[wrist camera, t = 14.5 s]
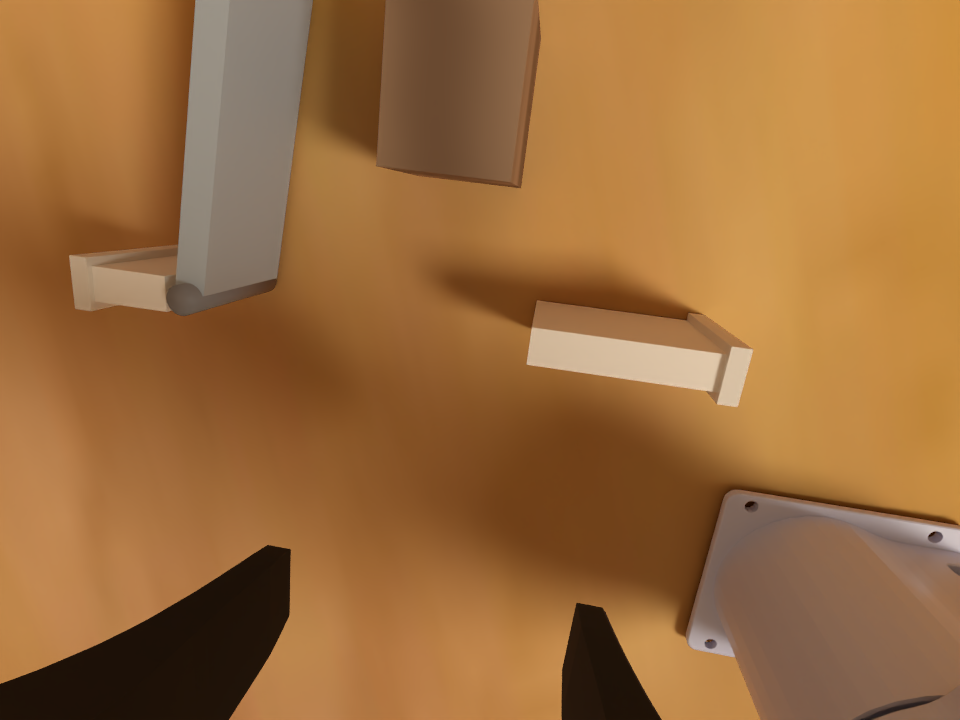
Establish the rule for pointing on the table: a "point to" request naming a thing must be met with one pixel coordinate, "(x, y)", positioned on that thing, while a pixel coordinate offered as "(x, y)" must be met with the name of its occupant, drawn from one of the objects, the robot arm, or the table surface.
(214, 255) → the door
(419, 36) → the block
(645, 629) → the table surface
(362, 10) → the table surface
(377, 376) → the table surface
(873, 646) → the robot arm
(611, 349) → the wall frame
